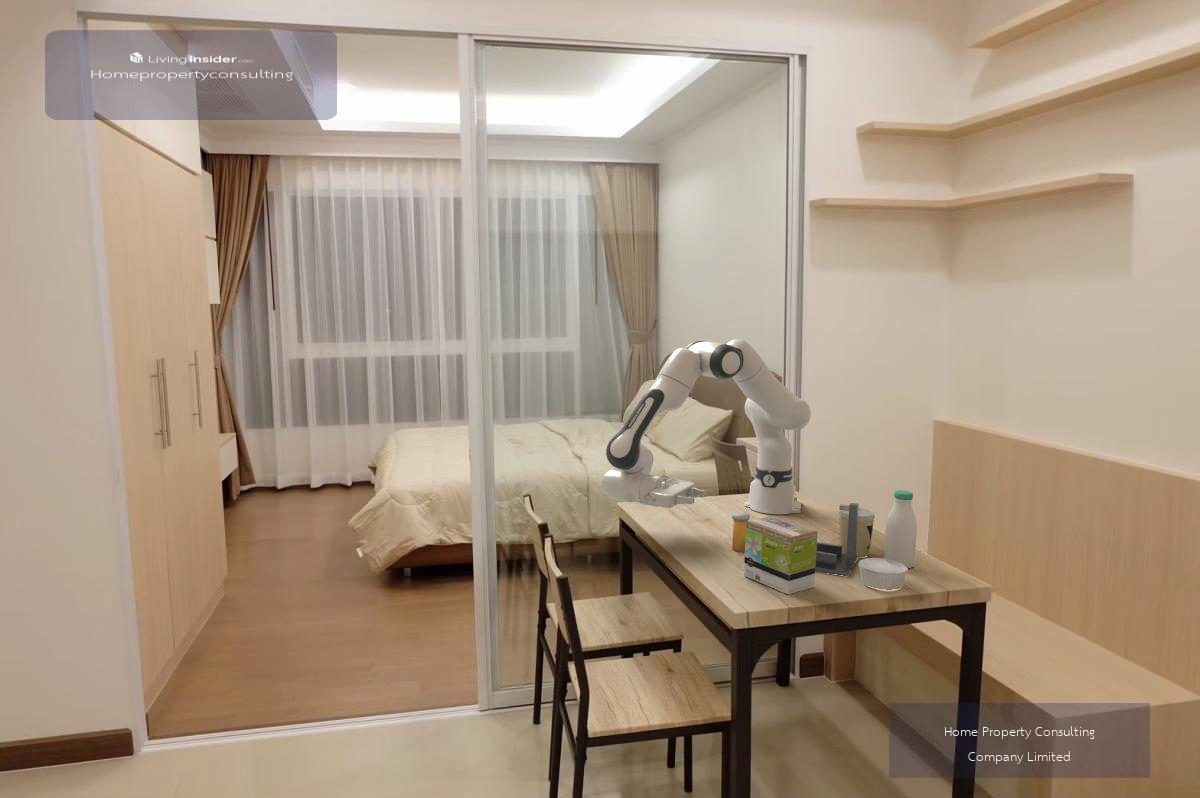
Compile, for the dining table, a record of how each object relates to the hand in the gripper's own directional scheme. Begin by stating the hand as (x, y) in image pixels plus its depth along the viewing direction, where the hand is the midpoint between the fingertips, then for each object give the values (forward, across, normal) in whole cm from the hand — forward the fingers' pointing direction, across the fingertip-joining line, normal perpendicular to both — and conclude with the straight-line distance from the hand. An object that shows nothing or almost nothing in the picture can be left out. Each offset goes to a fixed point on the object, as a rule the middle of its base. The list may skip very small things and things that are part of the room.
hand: (699, 497), depth 220 cm
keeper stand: (+37, 0, +13) cm, 40 cm away
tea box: (+28, -20, +14) cm, 37 cm away
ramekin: (+51, -8, +13) cm, 54 cm away
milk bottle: (+53, +10, +13) cm, 56 cm away
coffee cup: (+41, +14, +13) cm, 45 cm away
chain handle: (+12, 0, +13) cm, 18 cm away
